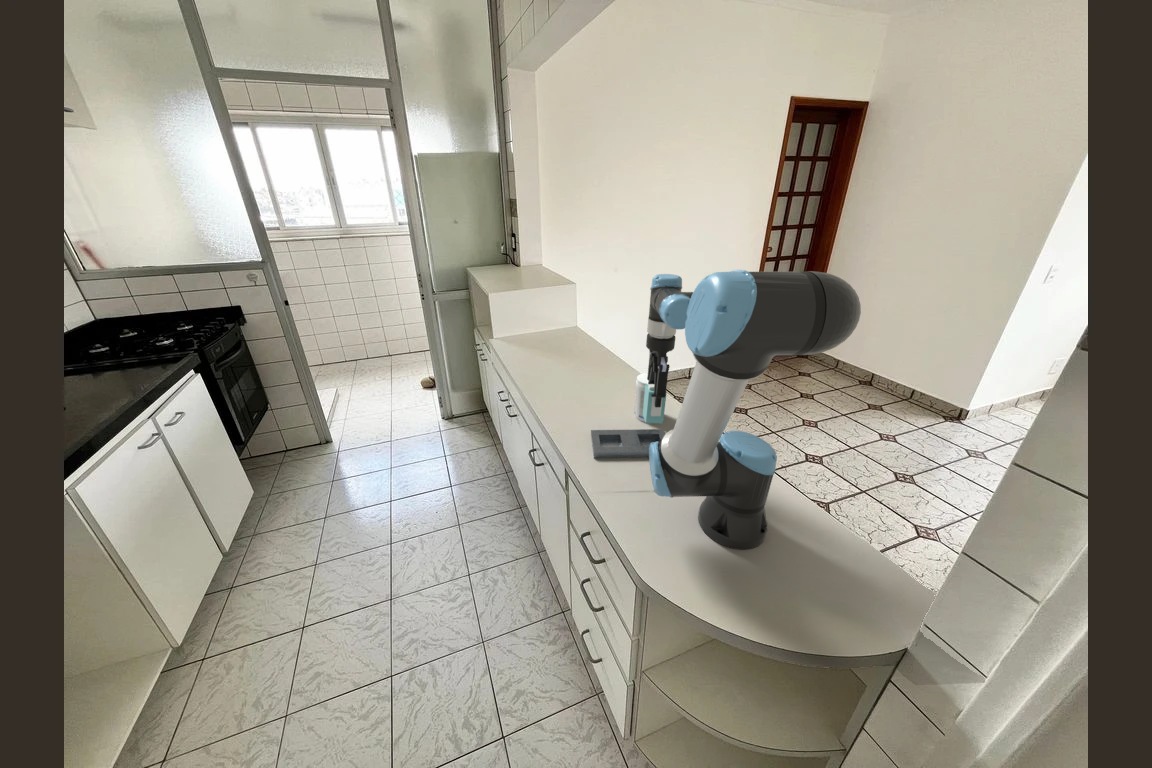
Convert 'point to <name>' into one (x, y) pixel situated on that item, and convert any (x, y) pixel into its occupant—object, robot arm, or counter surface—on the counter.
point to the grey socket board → (624, 442)
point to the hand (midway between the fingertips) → (653, 410)
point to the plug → (648, 404)
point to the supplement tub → (640, 395)
